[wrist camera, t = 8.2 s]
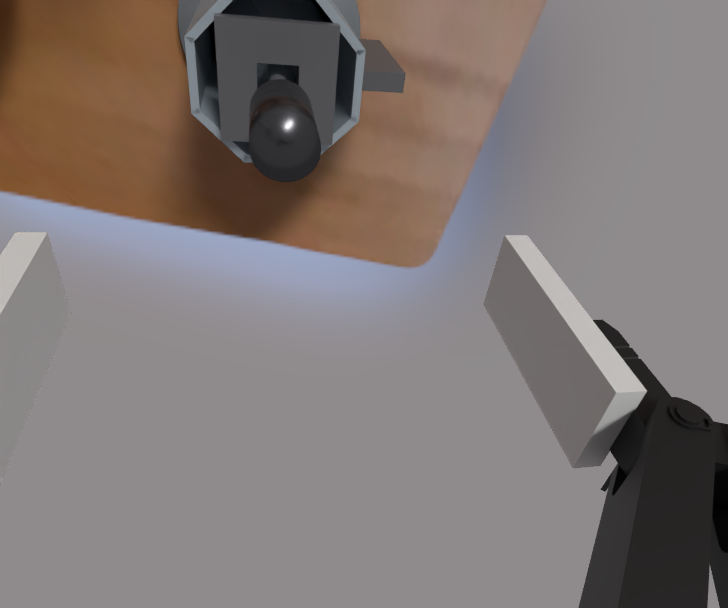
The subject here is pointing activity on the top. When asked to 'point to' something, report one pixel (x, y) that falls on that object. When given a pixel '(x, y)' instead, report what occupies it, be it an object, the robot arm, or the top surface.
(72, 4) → the top surface
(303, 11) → the plunger
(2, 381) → the robot arm
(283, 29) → the carafe
